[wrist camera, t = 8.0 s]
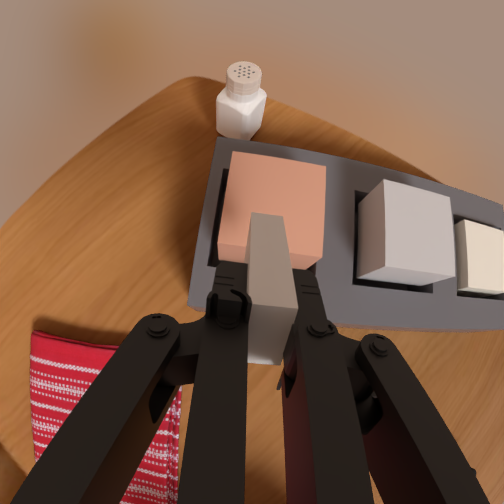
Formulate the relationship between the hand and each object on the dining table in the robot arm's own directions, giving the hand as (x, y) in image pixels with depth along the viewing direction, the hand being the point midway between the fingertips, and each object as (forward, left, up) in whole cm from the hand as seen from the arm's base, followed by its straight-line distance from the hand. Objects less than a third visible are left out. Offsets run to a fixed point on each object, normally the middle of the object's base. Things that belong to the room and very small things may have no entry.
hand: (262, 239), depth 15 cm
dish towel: (+21, +11, -16) cm, 28 cm away
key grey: (-12, +3, -9) cm, 15 cm away
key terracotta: (-3, -3, -9) cm, 10 cm away
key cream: (-22, +8, -12) cm, 26 cm away
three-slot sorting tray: (-12, +3, -15) cm, 20 cm away
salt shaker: (-6, -16, -16) cm, 23 cm away
